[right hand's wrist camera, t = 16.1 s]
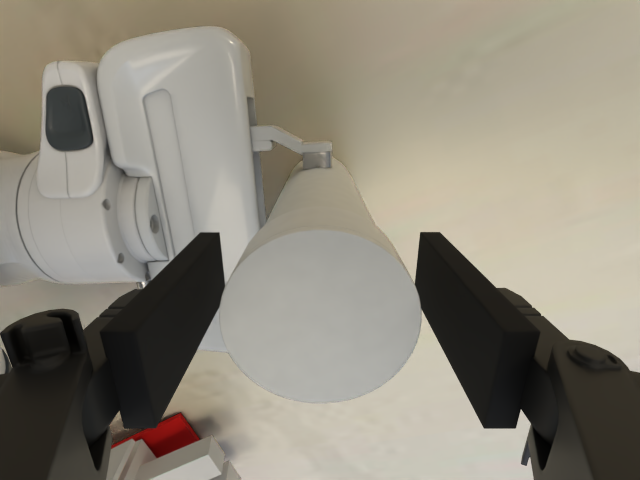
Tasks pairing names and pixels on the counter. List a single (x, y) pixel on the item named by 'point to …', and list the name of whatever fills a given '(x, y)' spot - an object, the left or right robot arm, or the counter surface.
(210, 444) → the toy
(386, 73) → the counter surface
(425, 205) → the counter surface
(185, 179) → the left robot arm
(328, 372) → the white cylinder
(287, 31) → the counter surface
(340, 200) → the jar
